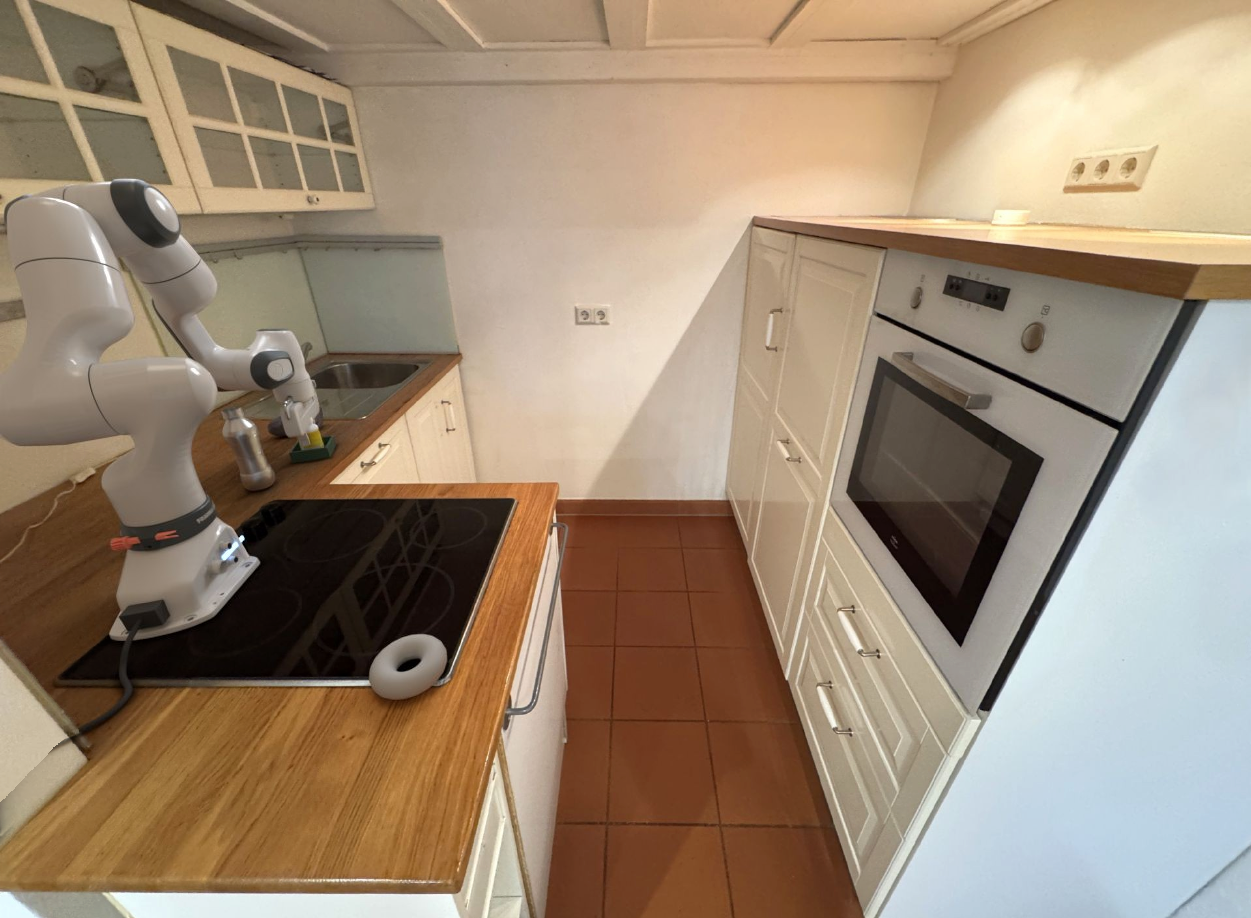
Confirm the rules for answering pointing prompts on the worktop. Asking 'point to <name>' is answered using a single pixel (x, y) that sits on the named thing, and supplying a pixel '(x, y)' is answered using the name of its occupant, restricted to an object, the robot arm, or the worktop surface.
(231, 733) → the worktop surface
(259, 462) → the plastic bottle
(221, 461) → the worktop surface
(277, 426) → the perforated stone tool
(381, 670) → the donut
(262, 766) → the worktop surface
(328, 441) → the tray
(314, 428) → the supplement bottle
